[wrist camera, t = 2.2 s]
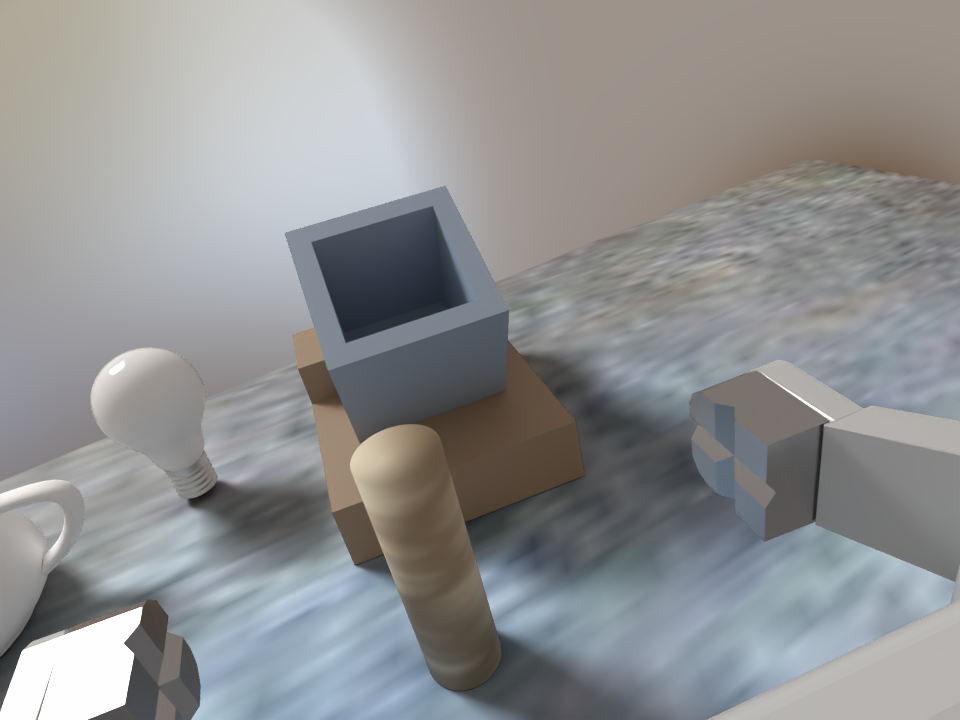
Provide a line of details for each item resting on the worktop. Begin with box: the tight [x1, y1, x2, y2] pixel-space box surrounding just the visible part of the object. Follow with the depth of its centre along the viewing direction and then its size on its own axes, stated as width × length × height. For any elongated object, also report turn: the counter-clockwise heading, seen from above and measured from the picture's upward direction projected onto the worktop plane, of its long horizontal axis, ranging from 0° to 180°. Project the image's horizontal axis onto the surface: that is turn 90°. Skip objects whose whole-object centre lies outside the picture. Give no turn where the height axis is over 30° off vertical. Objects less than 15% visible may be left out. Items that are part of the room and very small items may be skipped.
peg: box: [350, 424, 501, 691], centre depth 27 cm, size 3×3×12 cm
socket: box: [285, 186, 585, 565], centre depth 40 cm, size 14×17×16 cm
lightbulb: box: [91, 348, 218, 499], centre depth 42 cm, size 6×6×11 cm
